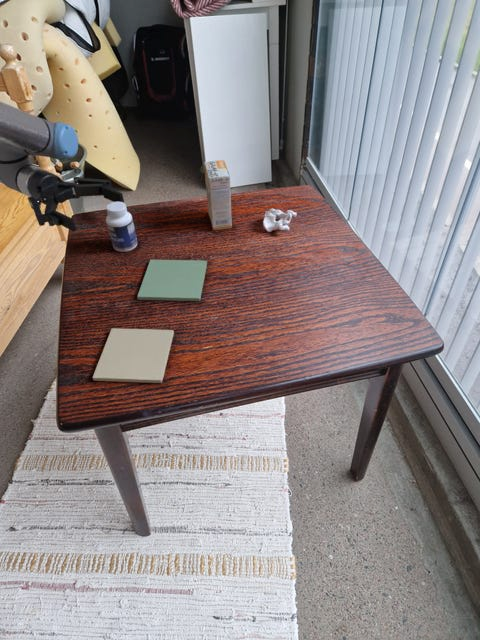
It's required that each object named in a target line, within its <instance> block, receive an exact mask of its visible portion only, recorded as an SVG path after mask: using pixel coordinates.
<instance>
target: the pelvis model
mask: <svg viewBox="0 0 480 640" xmlns="http://www.w3.org/2000/svg"><path fill="white" fill-rule="evenodd" d="M264 212H265V213H264V216H263V220H262V225H263V228H264V229H265V231H267V232H268V233H272V231H277V230H279V231H290V223H291V220H292V219H293V217H294V218H297V216H298V215H297V214H298V213H297V212H295V211H293V210H291V209H288V210H286V213H285V212H283V211H282V210H281V209H275V208H273V207H272V208H269V209H268V211H267V210H265V211H264Z"/></svg>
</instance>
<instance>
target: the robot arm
mask: <svg viewBox="0 0 480 640" xmlns="http://www.w3.org/2000/svg"><path fill="white" fill-rule="evenodd" d="M78 150H79V137H78V133H77V132H76V129H75V128H74V127H73V126H72V125H70V124H68V123H64V122H63V123H62V122H60V121H57V122H53V121H50V120H47V119H45V118H42V117H39V116H36V115H35V114H32V113H29V112H27V111H25V110H23V109H20V108H18V107H15V106H13V105H10V104H8V103H6V102H3V101H0V183H1V184H3V185H5V186H6V187H7V188H9V189H10V190H13V191H16V192H18V193H20V194H23V195H24V196H26V197H27V201H28V203H29V205H30V208H31V209H32V210H33V212H34V216H35V217H36V221H37V223H38V225H39V226H40V227H43V226H45V225H46V223H48V226H49V227H54V226H57V227H60V226H61V227H63V228H66V229H67V230H70V231H71V232H76V231H77V227H76V224H75V221H74V218H72V217H70V216H68V215H66V214H64V213H62V212H59V211H58V210H57V209H58V207H59V204H62V203H65V202H66V201H68V200H69V201H70V200H75V199H80V198H81V197H97V196H98V197H100V196H103V198H104V199H106V200H109V201H111V202H123V203H125V199H124V194H123V193H122V192H121V191H119V190H117V189H115V188H113V186H112V181H111V179H101V178H100V179H99V178H85V177H80V176H74V177H73V178H72V179H73V181H71V182H69V181H64V180H63V179H62V178H61V177H60V176H58V175H57V174H54V173H52V172H50V171H49V170H46V169H44V168H41V167H38V166H36V165H34V164H33V163H32V160H31V159H30V156H38V157H46V158H54V159H58V160H62V159H65V160H66V159H67V160H69V159H72V158H74V157H75V156H76V155H77V154H78ZM42 204H43V205H45V208H44V213H43V212H42V209H41V208H42V206H41V205H42Z"/></svg>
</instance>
